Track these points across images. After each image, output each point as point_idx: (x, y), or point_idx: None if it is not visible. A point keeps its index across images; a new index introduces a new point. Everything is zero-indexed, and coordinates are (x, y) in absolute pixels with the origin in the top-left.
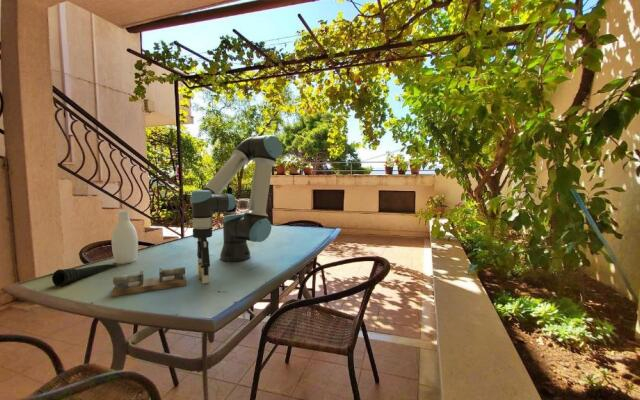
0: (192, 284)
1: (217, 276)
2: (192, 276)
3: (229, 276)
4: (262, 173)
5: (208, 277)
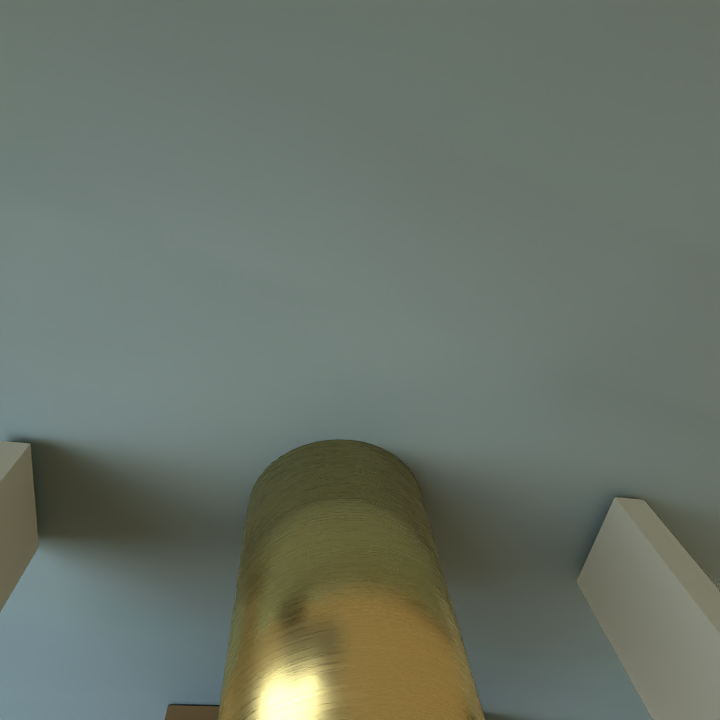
0: (505, 663)
1: (391, 286)
2: (124, 621)
3: (585, 43)
4: None
5: (691, 581)
